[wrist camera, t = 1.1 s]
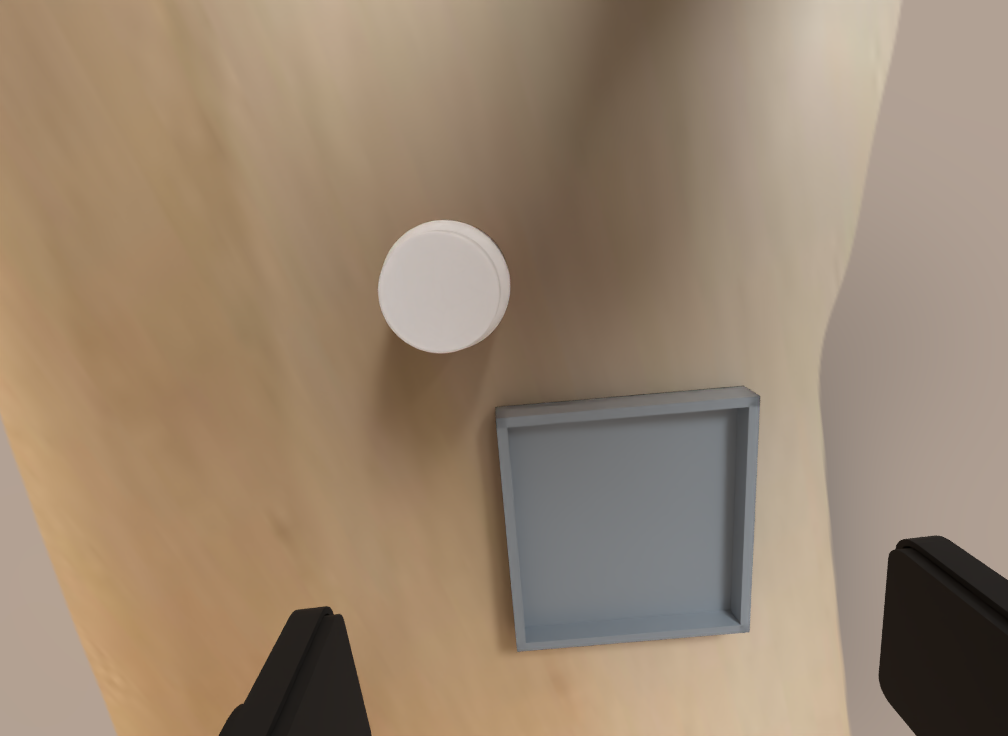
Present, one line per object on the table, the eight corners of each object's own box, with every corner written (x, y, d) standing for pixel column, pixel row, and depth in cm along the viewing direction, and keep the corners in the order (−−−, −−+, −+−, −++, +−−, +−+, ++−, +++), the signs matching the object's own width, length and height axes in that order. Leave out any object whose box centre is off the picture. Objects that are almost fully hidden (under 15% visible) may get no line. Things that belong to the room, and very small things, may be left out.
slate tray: (495, 406, 31) (495, 418, 29) (743, 385, 31) (760, 396, 29) (516, 628, 35) (517, 651, 33) (735, 610, 35) (749, 632, 33)
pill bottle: (518, 311, 30) (529, 349, 20) (423, 336, 30) (390, 385, 21) (492, 210, 28) (491, 199, 19) (392, 237, 29) (342, 240, 19)
